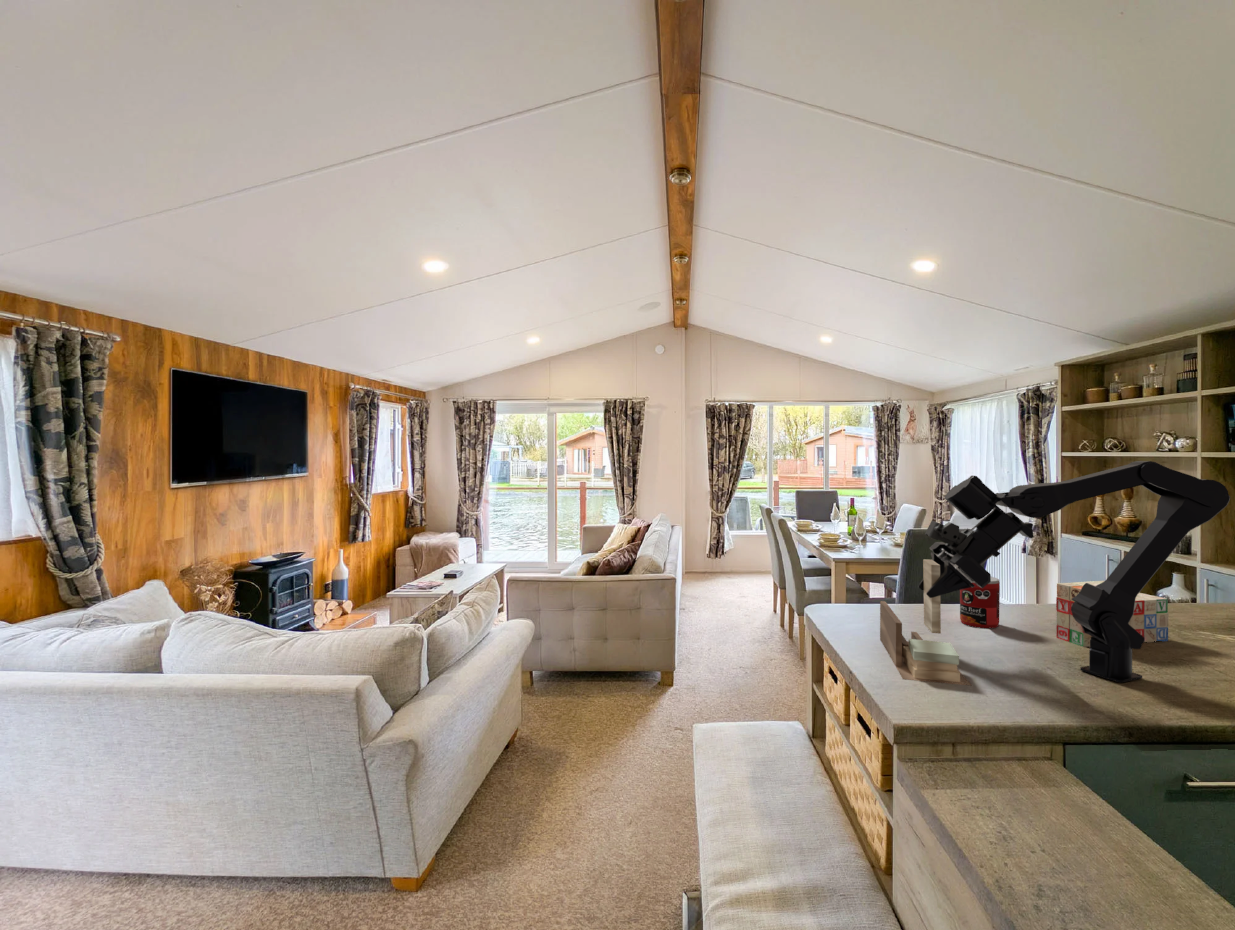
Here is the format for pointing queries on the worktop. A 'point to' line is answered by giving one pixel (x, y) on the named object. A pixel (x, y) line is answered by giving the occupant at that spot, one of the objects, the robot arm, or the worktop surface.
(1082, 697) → the worktop surface
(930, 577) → the birch board
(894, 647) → the offcut rack
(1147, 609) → the stack of blocks
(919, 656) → the offcut stack
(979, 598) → the canned food
